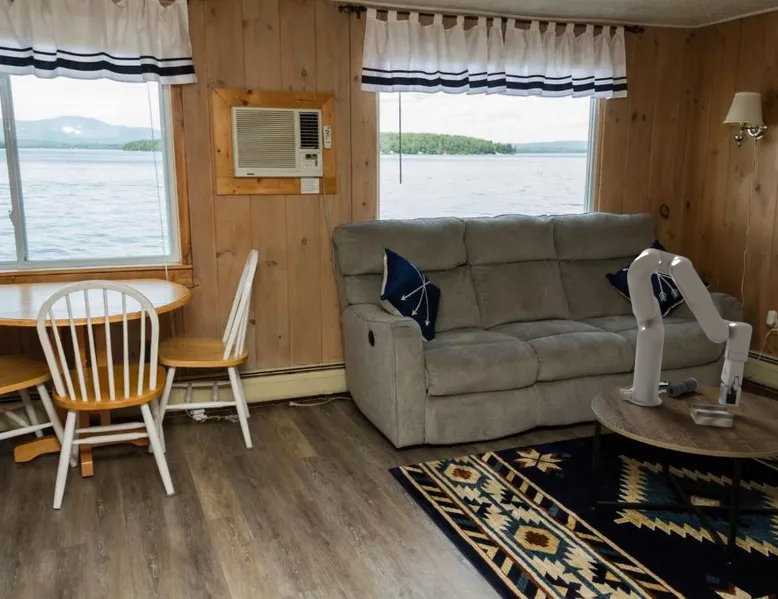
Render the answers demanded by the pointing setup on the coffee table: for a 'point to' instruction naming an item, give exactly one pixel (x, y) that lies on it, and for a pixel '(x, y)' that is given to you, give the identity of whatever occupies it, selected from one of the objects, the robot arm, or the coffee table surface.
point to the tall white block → (723, 395)
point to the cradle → (711, 415)
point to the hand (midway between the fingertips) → (728, 401)
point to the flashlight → (682, 387)
